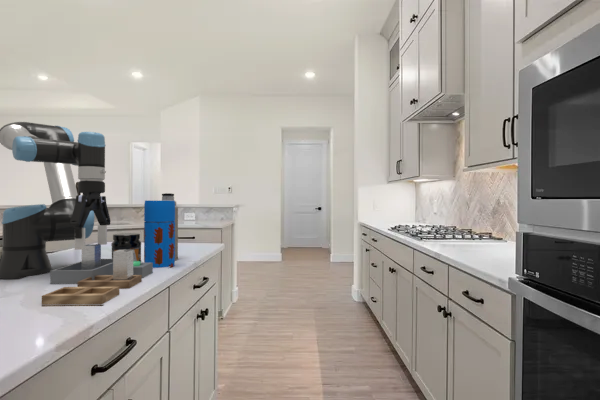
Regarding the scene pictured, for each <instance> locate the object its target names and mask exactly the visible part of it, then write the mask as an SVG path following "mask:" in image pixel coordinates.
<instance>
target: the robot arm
mask: <svg viewBox="0 0 600 400" xmlns="http://www.w3.org/2000/svg"><path fill="white" fill-rule="evenodd" d="M105 138H106V137H105V136H104V134H102V133H100V132H94V131H81V132H79V133H78V137H77V141H75V138H74V135H73V132H72V131H71V130H70V129H69V128H68V127H65V126H60V125H50V124H45V123H44V124H43V123H35V122H29V121H28V122H27V121H15V122H10V123H7V124H5V125H3V126H2V127H1V128H0V144H1V145H2V146H3V147H4V148H6V149H8V150H10V151H12V156H13V159H14V160H16V161H22V162H26V163H30V162H32V163H34V162H35V163H43V166H44V171H45V174H46V179H47V184H48V190H49V194H50V198H51V204H50V205H49V207H47V205H46V204H44V203H43V204H42V203H41V204H40V203H39V204H31V205H20V206H14V207H7V208H5V209H4V210H3V212H2V221H1V224H2V242H1V245H2V252H1V256H0V279H1V280H3V279H4V280H12V279H14V280H15V279H17V280H18V279H25V278H28V277H34V276H40V275H45V274H48V273H50V271H51V270H53V269H52V268H53V267H52V263H51V261H50V258H49V255H48V253H47V250H46V246H47V243H46V242H60V241H74V250H77V251H78V250H81V251H82V250H84V249H85V245H86V239H88V238H89V237H90V236H91V235H92V234H93V230H94V227H95V218H96V220H97V222H98V225H97V244H101V246H102V245H105V246H106V245H108V226H110V225H111V217H110V213H109V209H108V208H109V207H108V205H107V197H106V196H105V195H101V194H104V193H105V191H106V182H105V179H106V175H105V174H106V172H107V170H106V139H105ZM71 165H72V166H76V167H78V168H77V172H78V174H77V175H78V176H77V179H78V180H79V181H78V182H77V185H78V186H76V183H75V179H74V174H73V171H72V166H71ZM77 187H78V189H77ZM78 193H80V194H82V195H79V194H78Z"/></svg>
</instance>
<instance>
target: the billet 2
mask: <svg viewBox="0 0 600 400" xmlns="http://www.w3.org/2000/svg"><path fill="white" fill-rule="evenodd" d="M132 278H133V250H132V249H128V250H117V251H113V280H130V279H132Z"/></svg>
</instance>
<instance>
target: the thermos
mask: <svg viewBox="0 0 600 400" xmlns="http://www.w3.org/2000/svg"><path fill="white" fill-rule="evenodd" d="M175 201H176V200H175ZM175 201H161V200H144V205H143V206H144V207H143V208H144V209H143V210H144V211H143V217H144V218H143V221H144V222H143V225H144V226H143V230H144V231H143V236H144V237H143V238H144V239H143V246H144V247H143V261H144V262H143V263H153V268H154V269H156V268H157V269H158V268H159V269H160V268H168V269H171V268H174V267H175V261H176V260H175Z"/></svg>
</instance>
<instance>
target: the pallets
mask: <svg viewBox="0 0 600 400" xmlns="http://www.w3.org/2000/svg"><path fill="white" fill-rule="evenodd" d="M142 279H143V278H142V275H133V278H132V279H130V280H113V275H97V276H95V280H92V277H89V278H86V279H83V280H81V281H78V282H77V284H76V285H77V286H63V287H61V288H58V289H56V290H53V291H51V292H48V293H45V294H43V295H41V307H103V306H104V304H106V303H107V302H109V301H110V300H112V299H113V298H116V297H117V296H119V295H120V290H121V289H122V290H123V289H125V290H127V289H131V288H132V287H134V286H136V285H138V284H140V283H142V281H143V280H142Z"/></svg>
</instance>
